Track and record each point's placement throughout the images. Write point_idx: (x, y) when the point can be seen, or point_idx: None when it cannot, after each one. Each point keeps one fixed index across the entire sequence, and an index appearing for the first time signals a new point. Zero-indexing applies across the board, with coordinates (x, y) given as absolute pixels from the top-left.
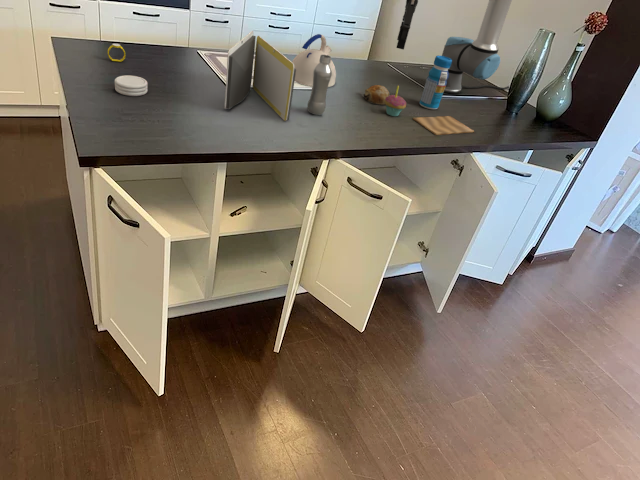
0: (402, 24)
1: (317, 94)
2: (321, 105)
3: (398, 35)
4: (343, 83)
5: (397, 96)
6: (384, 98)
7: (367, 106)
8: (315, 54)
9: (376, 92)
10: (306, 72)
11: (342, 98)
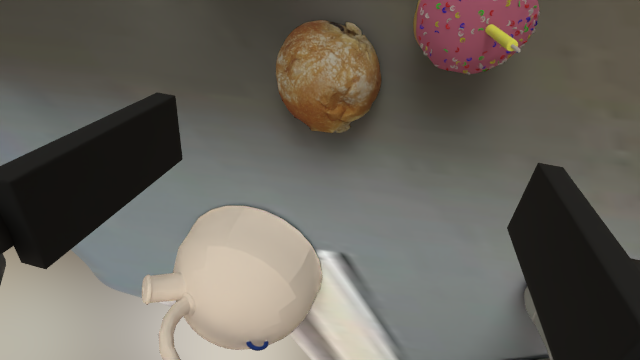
0: (67, 235)
1: None
2: None
3: (158, 176)
4: (222, 177)
5: (479, 17)
6: (372, 54)
7: (416, 116)
8: (246, 332)
9: (362, 100)
10: (307, 312)
11: (374, 196)
